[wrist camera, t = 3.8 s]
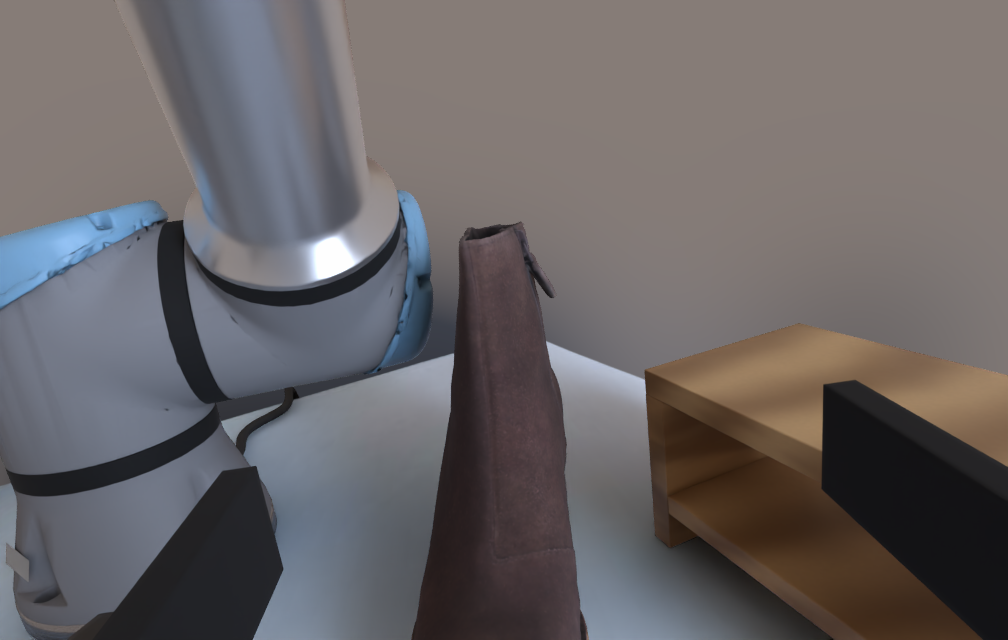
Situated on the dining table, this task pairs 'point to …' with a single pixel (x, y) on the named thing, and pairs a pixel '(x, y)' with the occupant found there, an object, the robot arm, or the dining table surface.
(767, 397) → the shoe rack
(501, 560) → the boot
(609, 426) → the dining table surface
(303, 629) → the dining table surface
